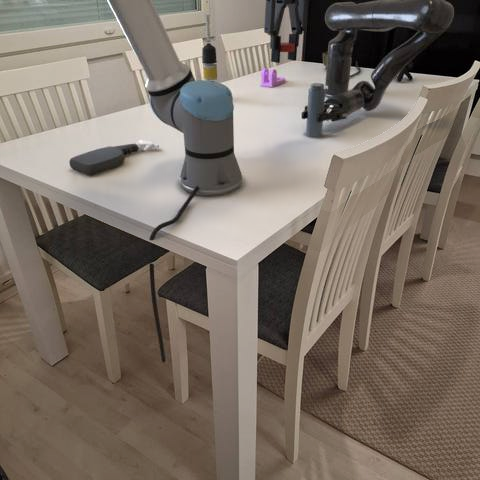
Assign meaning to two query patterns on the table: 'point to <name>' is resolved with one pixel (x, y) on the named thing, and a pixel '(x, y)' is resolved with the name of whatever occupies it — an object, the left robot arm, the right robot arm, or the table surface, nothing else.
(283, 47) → the lid
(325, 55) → the cup
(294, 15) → the left robot arm
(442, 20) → the right robot arm
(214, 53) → the bottle with thin stem
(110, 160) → the spray bottle
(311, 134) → the jar
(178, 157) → the table surface
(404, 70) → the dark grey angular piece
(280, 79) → the bracket
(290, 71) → the table surface
